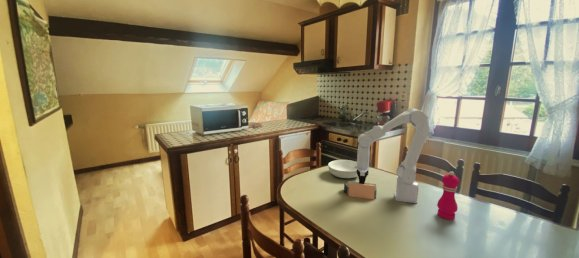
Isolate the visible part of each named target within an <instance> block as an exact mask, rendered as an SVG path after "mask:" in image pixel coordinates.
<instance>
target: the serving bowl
mask: <svg viewBox="0 0 579 258" xmlns="http://www.w3.org/2000/svg"><path fill="white" fill-rule="evenodd" d="M327 166H328V170H329V172H330V173H331V174H332V175H333V176H334V177H338V178H340V179H353V178H358V175H357V168H354V166H357V160H355V161H354V160H351V159H349V160H348V159H336V160H332V161H330V162H328V164H327Z"/></svg>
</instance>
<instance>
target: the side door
mask: <svg viewBox="0 0 579 258" xmlns="http://www.w3.org/2000/svg"><path fill="white" fill-rule="evenodd" d="M374 191H375V185H367V184H358V183H349V195H348V197H353V198H359V199H367V200H372V201H373V200H375V199H374Z"/></svg>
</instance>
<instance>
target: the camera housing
mask: <svg viewBox="0 0 579 258" xmlns="http://www.w3.org/2000/svg"><path fill="white" fill-rule="evenodd" d="M349 183H358V184H359V181H352V180H348V182H347V183H346V182H345V183H344V185H343V193H346V196H349ZM364 184H367V185H375V191H374V200H376V199H377V191H378V190H377V184H376V183H370V182H365V183H364Z"/></svg>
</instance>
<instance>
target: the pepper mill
mask: <svg viewBox="0 0 579 258" xmlns="http://www.w3.org/2000/svg"><path fill="white" fill-rule="evenodd" d="M441 182H442V189H443V191H442V195H441V197H440V198H439V199H438V201H437V204H436V206H437V216H438V217H440V218H442V219H444V220H450V221H451V220H454V219H455V218H456V212H457V211H458V204H457V201H456V197H455V195H456V192H457V189H458V186H459V185H460V179H459V178H458V176H456V175H455V172H454V171H449V172H448V173H447V174H445V175H443V176H442V178H441Z"/></svg>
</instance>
